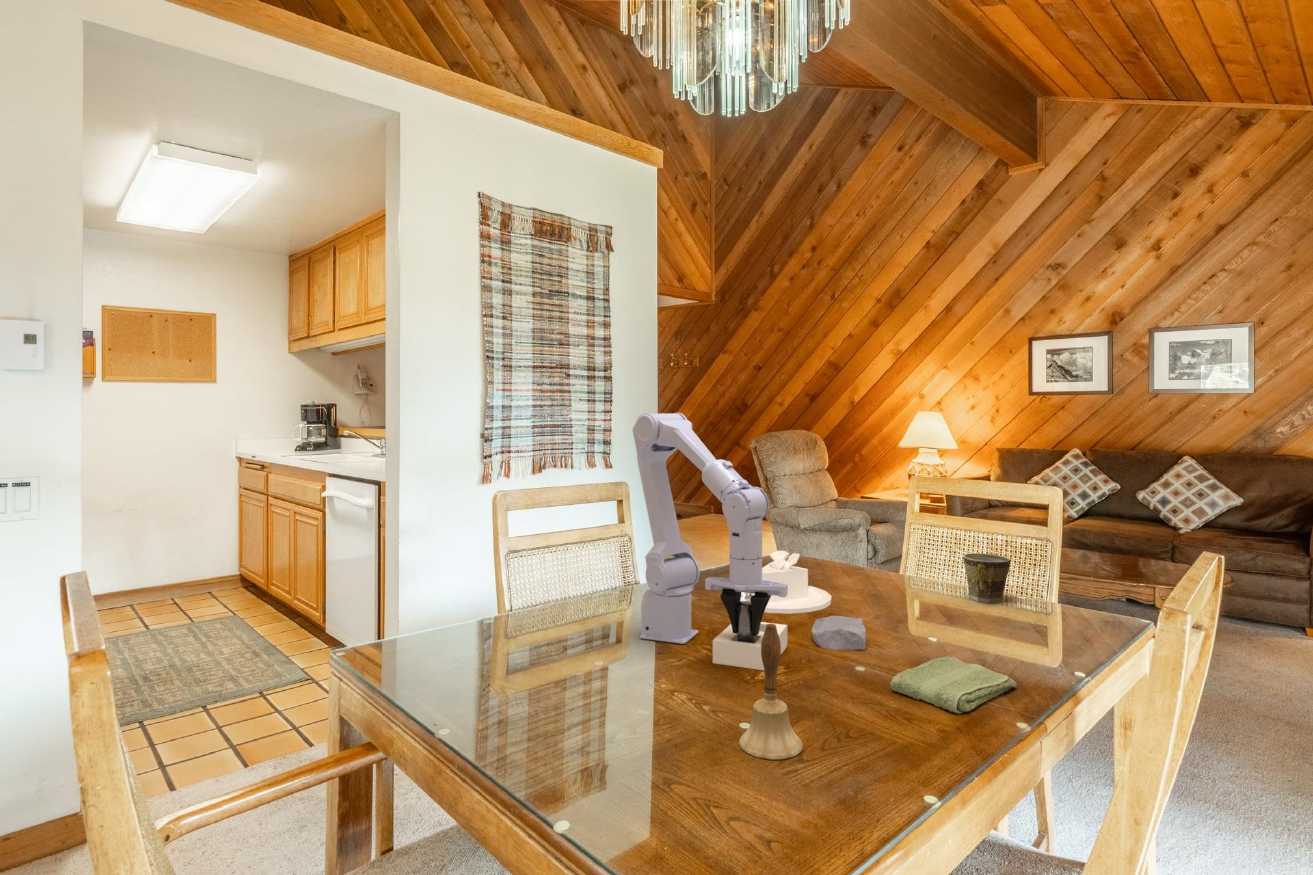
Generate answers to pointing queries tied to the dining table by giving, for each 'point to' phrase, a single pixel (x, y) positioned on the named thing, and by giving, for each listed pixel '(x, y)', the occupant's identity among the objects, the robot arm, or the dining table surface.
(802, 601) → the dish
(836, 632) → the stone block
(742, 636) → the peg
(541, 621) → the dining table surface
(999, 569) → the ceramic cup
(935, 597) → the dining table surface
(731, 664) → the hole block
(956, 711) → the washcloth
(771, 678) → the hand bell
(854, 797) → the dining table surface
